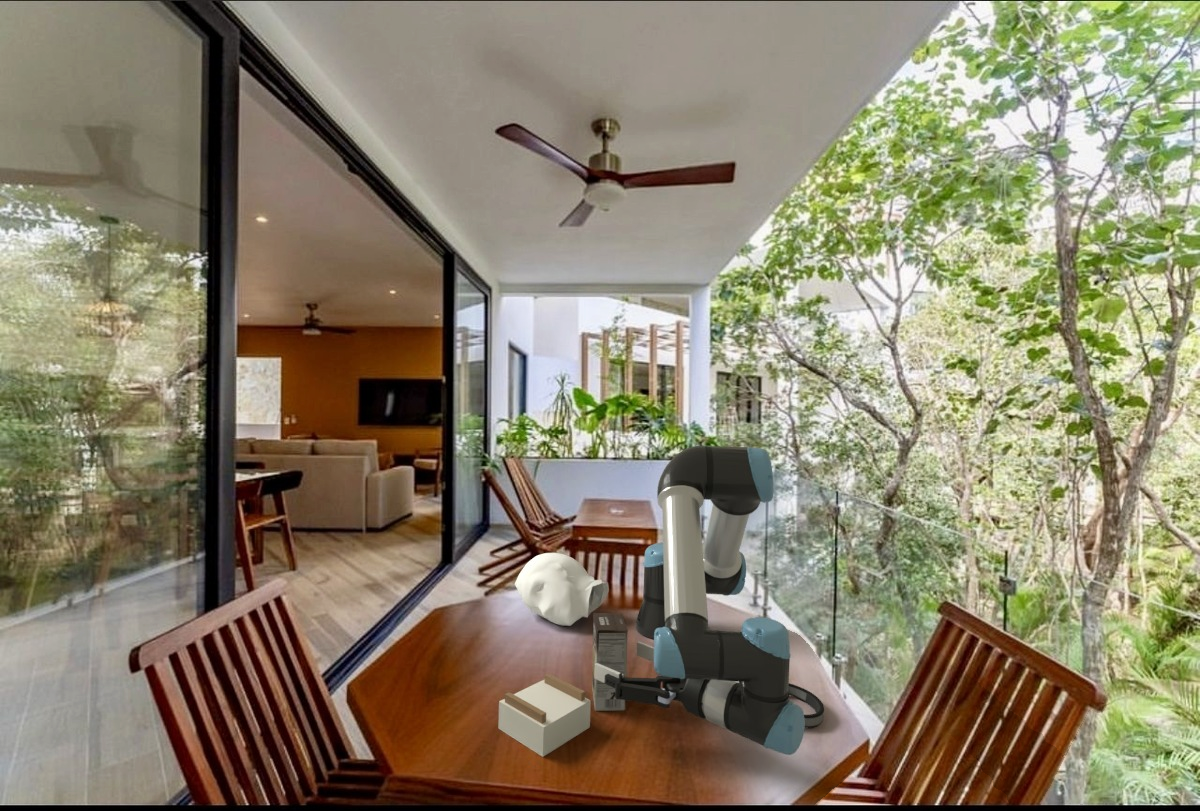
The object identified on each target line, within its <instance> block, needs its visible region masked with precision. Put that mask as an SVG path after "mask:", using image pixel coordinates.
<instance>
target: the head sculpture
mask: <svg viewBox="0 0 1200 811" xmlns="http://www.w3.org/2000/svg"><path fill="white" fill-rule="evenodd" d="M514 586H515V587H516V589H517V591H518V593H519V596H520V597H521V600H522V602H523V604H524V605H525V606H526V607H527V608H528V609H529V611H530V612H531V613H533V614H536V615H538V616H540V617H542V618H544V619H546V620H548V622H551V623H552V624H556V625H559V626H563V627H564V626H567V627H571V626H572V625H573V624H575V622H577V621H579V620H580V619H581V618H588V617H589V616H590V614H591V613H592V612H594V611H595V610H597V609H598V608H599V607H600V606H601V605H602V604H603V602H605V600H606V599H607V596H608V595H609V594H608V593H609V591H610V589H609V582H608V581H606V582H603V581H602V579H601V578H600V579H595V578H594V576H591V575H589V573H588V572H587V570H586V569H585V567H584V566H583V564H581V563H580V562H579V561H578V560H576V559H574V558H573V557H571V556H569V555H566V554H563V553H558V552H545V553H541V554H538V555H536V556H534V557H533V558H532V559H530V560H529V561H528V562H527V563H526V564H525V565H524V567H523V568H522V569H521V570H520V573H519V574H518V576H517V578H516V580H515V582H514Z"/></svg>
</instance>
